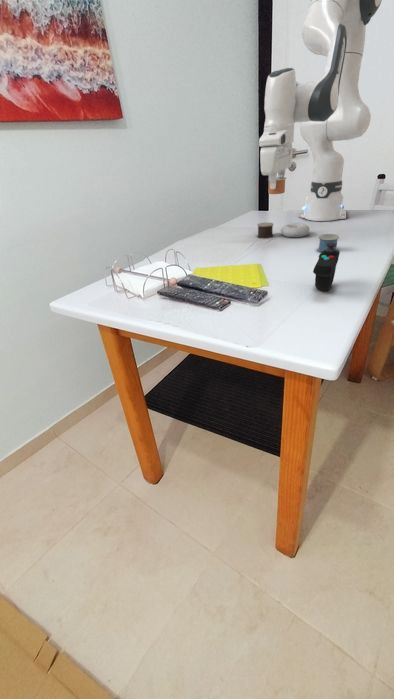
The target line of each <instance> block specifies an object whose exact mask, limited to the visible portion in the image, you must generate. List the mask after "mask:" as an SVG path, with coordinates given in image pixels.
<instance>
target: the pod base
mask: <svg viewBox="0 0 394 699" xmlns="http://www.w3.org/2000/svg"><path fill="white" fill-rule="evenodd" d="M274 224H275V223H273V222H268V221H267V222H266V221H265V222H259V223H257V237H258V238H260V239H268V238H272V237H273V229H274V228H273V226H274Z"/></svg>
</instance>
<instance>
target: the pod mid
mask: <svg viewBox="0 0 394 699" xmlns="http://www.w3.org/2000/svg"><path fill="white" fill-rule="evenodd" d="M286 180H287V177H286V176H284V177H278V176H277V177H276V182H277V188H276V189H270V181H269V178H267V181H268V194H269V195H280V194H281V195H282V194H284V193H285V192H286Z"/></svg>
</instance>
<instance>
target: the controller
mask: <svg viewBox="0 0 394 699" xmlns="http://www.w3.org/2000/svg"><path fill="white" fill-rule="evenodd" d="M326 246H327V247H328V248H327V249H326V250H324V251H322V252H320V254H319V255H318V259H317V261H316V263H315V265H314V268H313V270H312V273H313V274H314V275H315V277H314V283H315V284H314V286H315V288H316V289H317V290H318V291H330V290H331V289H332V286H333V284H334V283H333V282H334V278H335V275H336V270H337V265H338V261H339V257H340V253H341V252H340V251H338V250H337V249H336V250H335V249H334V248H333V247H335V246H336V244H335V243H327V244H326Z"/></svg>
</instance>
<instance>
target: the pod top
mask: <svg viewBox="0 0 394 699" xmlns="http://www.w3.org/2000/svg"><path fill="white" fill-rule="evenodd" d="M318 238H319V243H318V252H320V253H321V252H322V251H324V250H326V249H327V248H328V247H327V246H326V244H327V243H335V244H336V246H335V247H333V248H334V249H335V250H336V251H337V248H338V241H339V239H340V235H338V234H334V233H325V234H321V235H319V236H318Z"/></svg>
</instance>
